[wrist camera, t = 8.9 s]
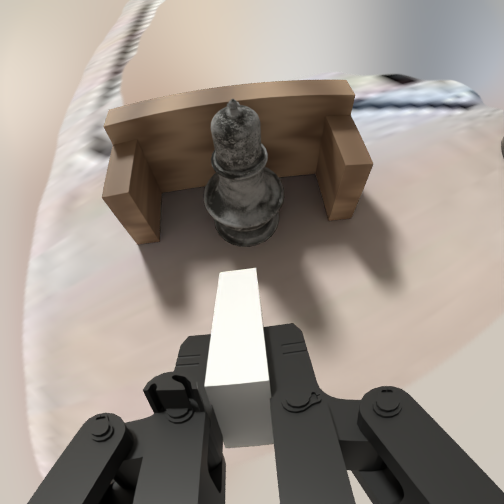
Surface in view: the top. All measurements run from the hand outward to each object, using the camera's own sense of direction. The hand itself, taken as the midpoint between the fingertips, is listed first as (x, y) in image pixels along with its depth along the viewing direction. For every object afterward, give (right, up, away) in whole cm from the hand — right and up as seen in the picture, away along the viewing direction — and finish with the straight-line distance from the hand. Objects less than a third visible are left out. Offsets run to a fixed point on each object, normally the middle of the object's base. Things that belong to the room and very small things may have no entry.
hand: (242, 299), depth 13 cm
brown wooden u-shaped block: (-1, +7, +13) cm, 15 cm away
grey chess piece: (0, +5, +13) cm, 13 cm away
